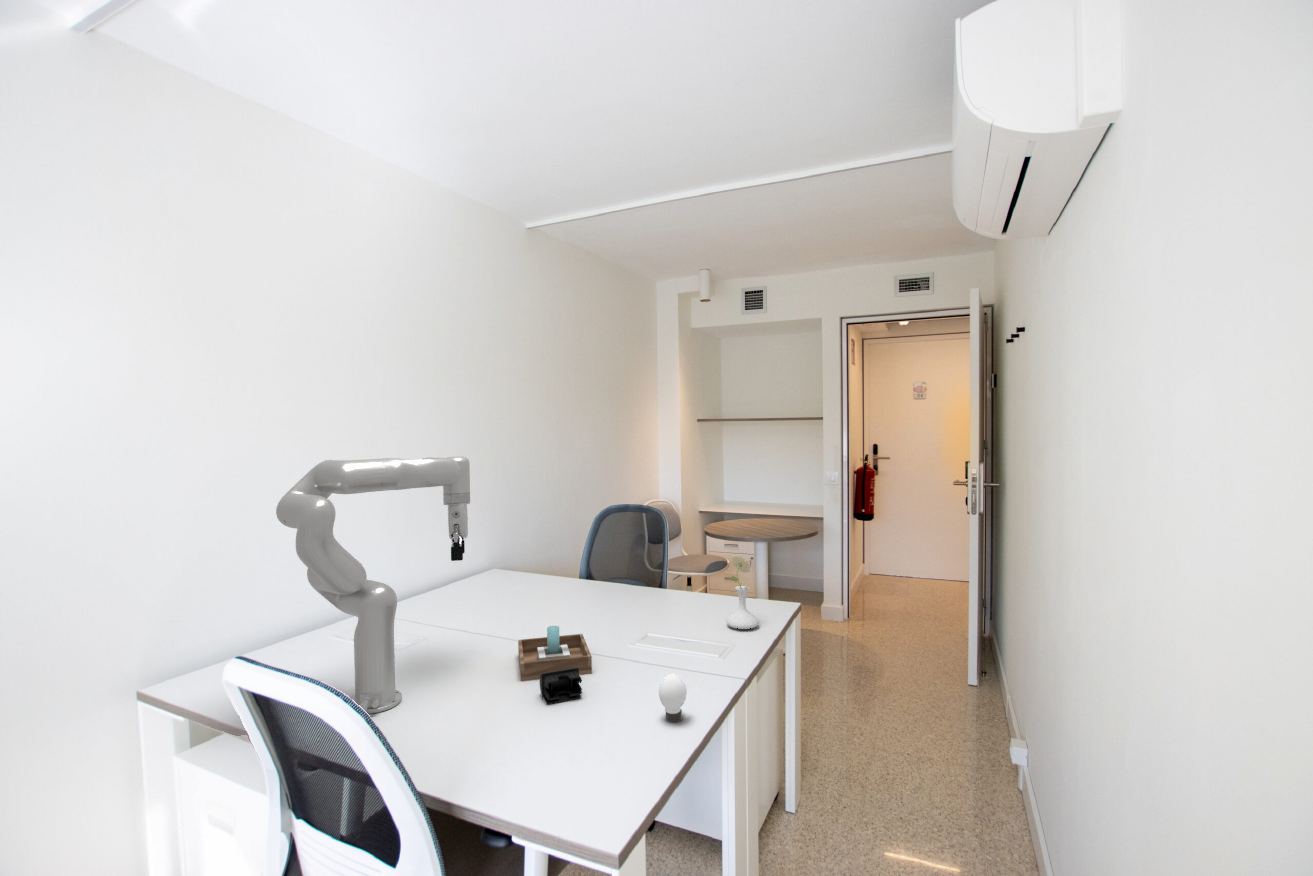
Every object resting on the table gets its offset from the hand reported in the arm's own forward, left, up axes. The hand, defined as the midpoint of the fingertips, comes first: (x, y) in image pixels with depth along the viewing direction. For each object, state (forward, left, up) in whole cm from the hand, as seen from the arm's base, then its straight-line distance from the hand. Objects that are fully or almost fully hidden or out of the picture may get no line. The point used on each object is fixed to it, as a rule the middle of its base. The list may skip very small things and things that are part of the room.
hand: (458, 556), depth 184 cm
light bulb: (-47, -52, -34) cm, 78 cm away
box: (-4, -27, -33) cm, 43 cm away
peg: (-4, -27, -32) cm, 42 cm away
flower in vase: (+13, -94, -34) cm, 101 cm away
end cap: (-27, -27, -34) cm, 51 cm away
